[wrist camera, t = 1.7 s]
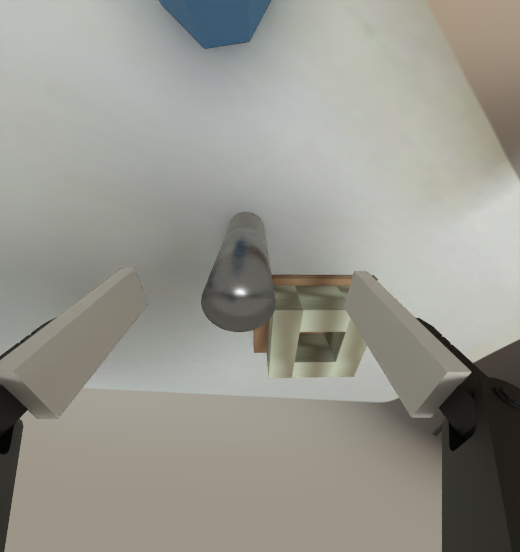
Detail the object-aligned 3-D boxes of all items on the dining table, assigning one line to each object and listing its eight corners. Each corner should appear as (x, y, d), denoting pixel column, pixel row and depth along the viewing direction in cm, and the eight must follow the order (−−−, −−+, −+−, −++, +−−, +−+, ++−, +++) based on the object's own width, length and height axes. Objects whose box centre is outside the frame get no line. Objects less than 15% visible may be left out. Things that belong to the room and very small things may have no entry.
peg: (230, 245, 24) (205, 332, 11) (228, 211, 22) (196, 272, 9) (263, 246, 24) (273, 331, 12) (264, 212, 22) (278, 272, 10)
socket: (254, 347, 33) (254, 382, 27) (254, 274, 26) (255, 302, 20) (347, 346, 33) (365, 380, 28) (373, 275, 26) (403, 302, 21)
